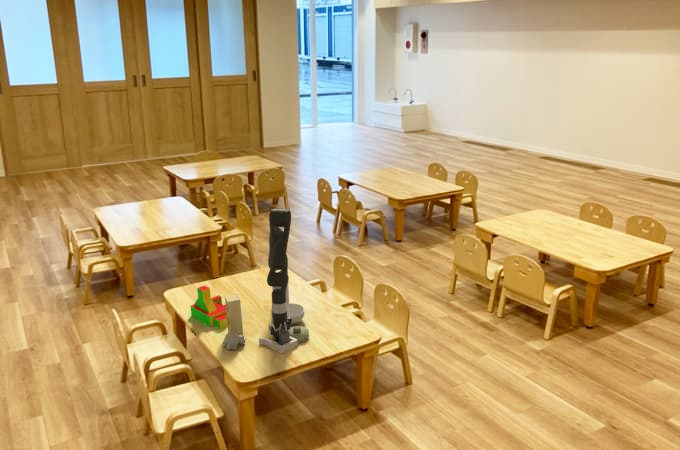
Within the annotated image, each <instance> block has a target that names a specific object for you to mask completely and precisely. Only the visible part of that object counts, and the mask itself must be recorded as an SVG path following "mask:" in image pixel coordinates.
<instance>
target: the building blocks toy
mask: <svg viewBox="0 0 680 450" xmlns="http://www.w3.org/2000/svg"><path fill="white" fill-rule="evenodd" d="M196 290H197V298H196V301H195V302H194V304H191V305H190V315H191V317H192V318H194V319H196V320H198V321H199V322H201V323H203V324H205V325H207V326H208V327H210V328H211V327H213V326H214V327H216V328H218V329H220V330H221V329H223V328H226V327H228V324H227V313H226V303H225V304H223V301H222V300H223V299H222V296H221V295H215V296H213V297H212V296H211V288H210V287H208V286H206V285H201V286H198V287H197V289H196Z"/></svg>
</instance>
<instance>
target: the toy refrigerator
mask: <svg viewBox="0 0 680 450" xmlns="http://www.w3.org/2000/svg"><path fill="white" fill-rule="evenodd" d="M224 300H225V304H226V313H227V332H228V333H229V332H236V333H237V334H238V335H240V334H242V336H244V329H243V319H242V317H243V316H242V306H241V299H240V297H239V295H238V294H229V295H225V296H224Z"/></svg>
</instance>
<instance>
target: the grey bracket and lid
mask: <svg viewBox="0 0 680 450" xmlns="http://www.w3.org/2000/svg"><path fill="white" fill-rule="evenodd" d="M288 332H289V335H290V342H288V343H286V344H284V345H280V344H279V343H277V342H275V341H273V340H271V339H269V338H267V337H258V344H260V345H265V346H267V347H268V348H269V349H273V350H274V351H277V352H278V353H280V354H282V353H283V354H284V353H285V352H288V351H289V350H291V349H294V348H295V347H297V346H298V345H299V343H302V342H305V341H307V340H308V339H309V337H310V335H309V329H308V328H307V327H305V326H297V325H296V326H292V327H290V330H288Z"/></svg>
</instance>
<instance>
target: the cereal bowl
mask: <svg viewBox="0 0 680 450" xmlns="http://www.w3.org/2000/svg"><path fill="white" fill-rule="evenodd" d="M287 317H289V318H291V319H292V321H291V325H294V324H297V323H299V322H301V321H302V320H303V318H305V308H304V306H303V305H301V304H298V303H291V302H289V304H287Z"/></svg>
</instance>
